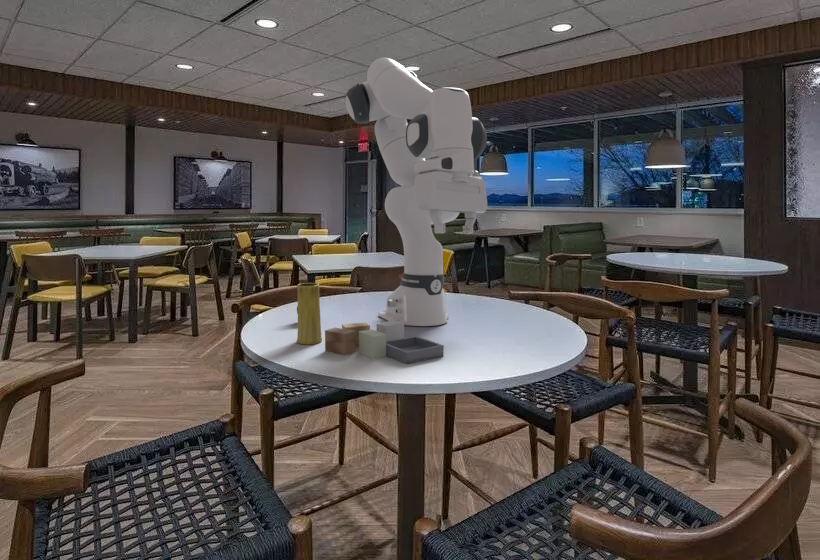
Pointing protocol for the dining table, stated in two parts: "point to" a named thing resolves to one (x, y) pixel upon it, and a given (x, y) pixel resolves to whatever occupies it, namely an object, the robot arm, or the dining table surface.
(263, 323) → the dining table surface
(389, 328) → the block grey
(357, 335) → the block oak
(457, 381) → the dining table surface
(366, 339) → the block sage
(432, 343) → the slate dish
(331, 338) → the block walnut
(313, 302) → the vase
